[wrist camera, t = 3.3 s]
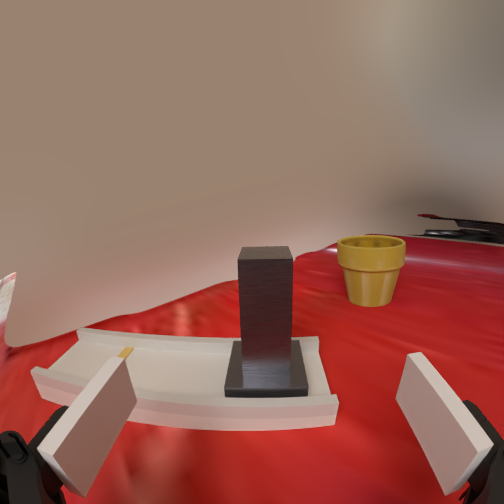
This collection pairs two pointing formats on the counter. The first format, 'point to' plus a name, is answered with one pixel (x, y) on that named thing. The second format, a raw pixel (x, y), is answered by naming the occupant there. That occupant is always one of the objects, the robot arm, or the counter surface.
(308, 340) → the rail
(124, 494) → the counter surface
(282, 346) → the post
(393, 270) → the plant pot
